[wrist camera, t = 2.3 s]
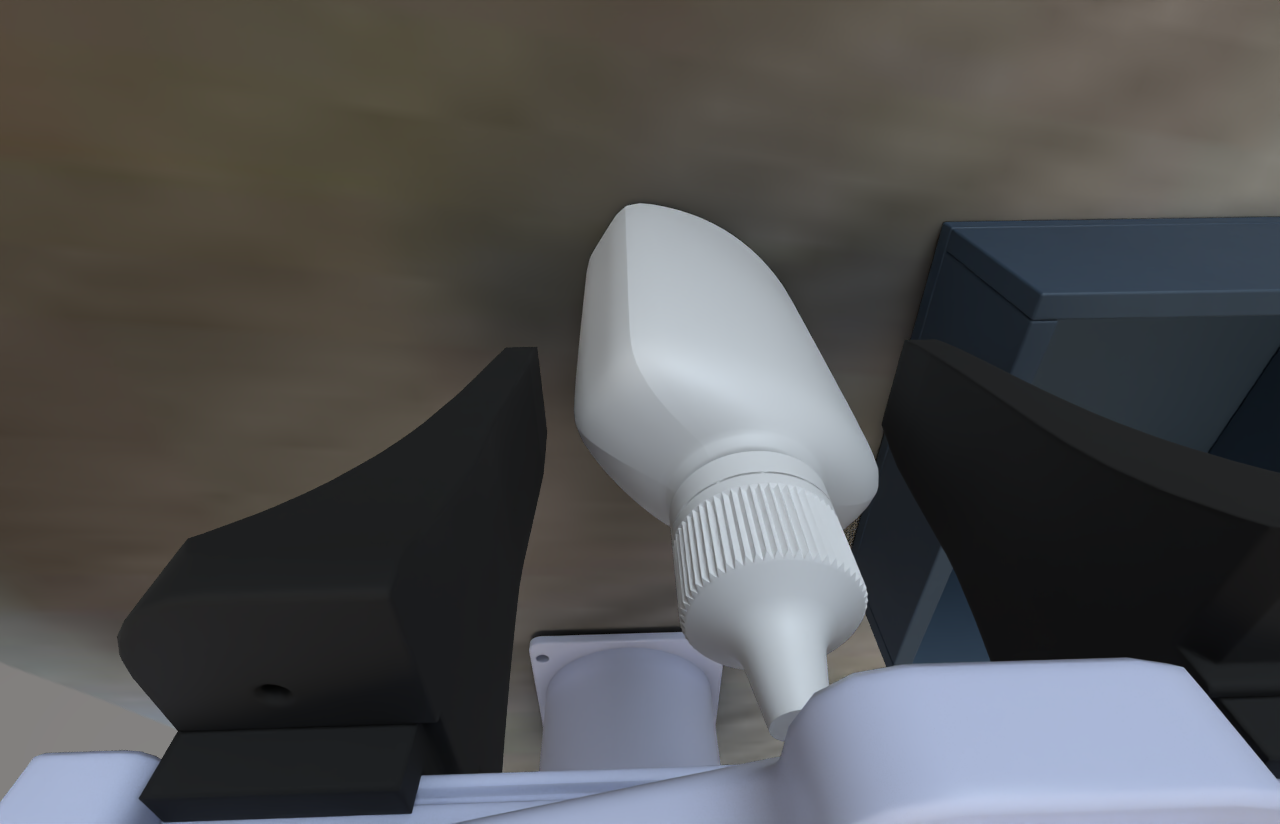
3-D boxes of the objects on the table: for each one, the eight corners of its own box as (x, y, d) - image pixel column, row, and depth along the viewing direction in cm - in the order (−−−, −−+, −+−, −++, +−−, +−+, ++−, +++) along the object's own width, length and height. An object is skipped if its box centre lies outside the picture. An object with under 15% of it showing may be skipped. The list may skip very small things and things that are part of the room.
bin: (1134, 559, 24) (1231, 665, 20) (846, 567, 23) (889, 676, 20) (1366, 214, 16) (1591, 284, 12) (942, 221, 16) (1042, 293, 12)
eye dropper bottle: (666, 393, 18) (721, 857, 9) (567, 232, 16) (480, 656, 6) (803, 330, 17) (1043, 779, 8) (724, 144, 14) (947, 483, 5)
